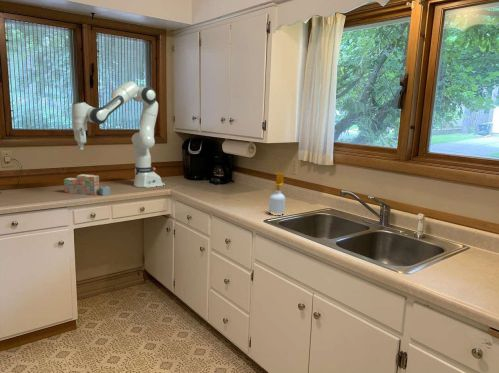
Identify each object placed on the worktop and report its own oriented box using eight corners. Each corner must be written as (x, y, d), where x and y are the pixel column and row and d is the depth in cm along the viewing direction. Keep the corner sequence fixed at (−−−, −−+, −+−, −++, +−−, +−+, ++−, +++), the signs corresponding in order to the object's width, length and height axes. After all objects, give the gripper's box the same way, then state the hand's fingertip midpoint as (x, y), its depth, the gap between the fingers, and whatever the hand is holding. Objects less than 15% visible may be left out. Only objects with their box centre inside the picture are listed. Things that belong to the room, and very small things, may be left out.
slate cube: (106, 193, 260) (106, 185, 259) (110, 194, 257) (109, 186, 256) (99, 194, 256) (98, 186, 255) (102, 195, 253) (102, 187, 252)
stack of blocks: (64, 193, 256) (63, 174, 253) (69, 191, 262) (69, 173, 259) (94, 195, 253) (94, 176, 250) (99, 193, 259) (99, 175, 257)
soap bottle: (266, 214, 224) (269, 172, 219) (271, 211, 232) (273, 170, 227) (281, 216, 221) (284, 174, 216) (286, 213, 229) (288, 172, 224)
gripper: (88, 128, 242) (89, 150, 245) (82, 126, 259) (83, 147, 262) (77, 128, 239) (78, 150, 242) (72, 126, 256) (73, 147, 258)
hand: (80, 149), depth 252 cm, fingers open, 5 cm apart
